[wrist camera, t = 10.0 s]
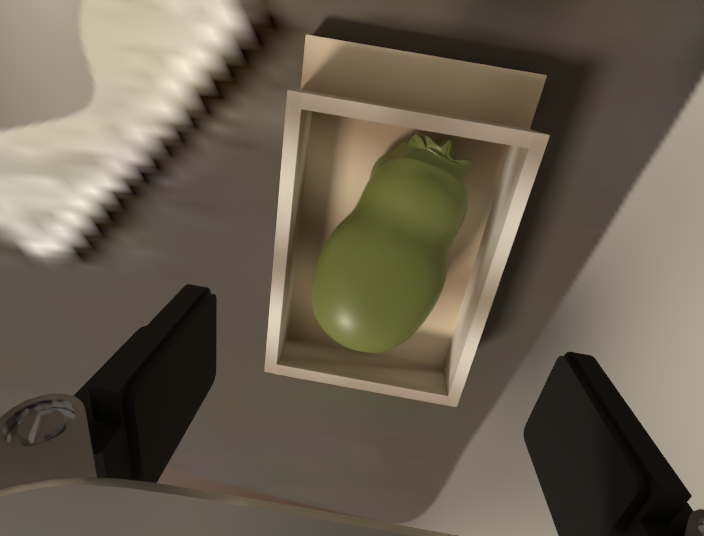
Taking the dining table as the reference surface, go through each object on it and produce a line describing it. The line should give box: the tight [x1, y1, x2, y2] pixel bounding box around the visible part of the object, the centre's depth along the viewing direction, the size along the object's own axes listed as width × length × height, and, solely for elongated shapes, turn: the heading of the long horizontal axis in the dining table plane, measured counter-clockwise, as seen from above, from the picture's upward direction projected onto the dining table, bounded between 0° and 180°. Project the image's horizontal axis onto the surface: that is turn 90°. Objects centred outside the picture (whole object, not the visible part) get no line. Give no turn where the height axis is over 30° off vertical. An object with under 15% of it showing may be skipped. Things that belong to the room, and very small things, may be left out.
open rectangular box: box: [264, 35, 550, 407], centre depth 20 cm, size 18×10×4 cm, turn 171°
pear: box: [311, 133, 473, 353], centre depth 18 cm, size 6×5×10 cm
